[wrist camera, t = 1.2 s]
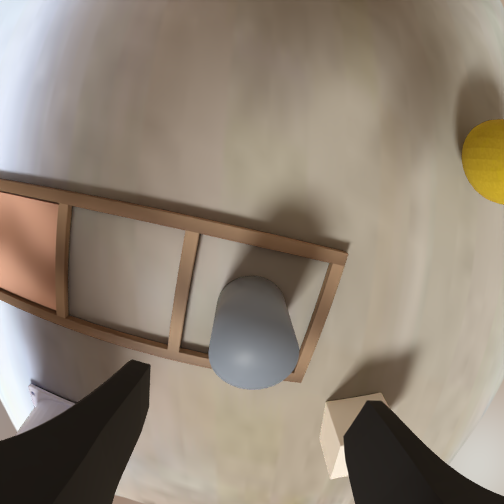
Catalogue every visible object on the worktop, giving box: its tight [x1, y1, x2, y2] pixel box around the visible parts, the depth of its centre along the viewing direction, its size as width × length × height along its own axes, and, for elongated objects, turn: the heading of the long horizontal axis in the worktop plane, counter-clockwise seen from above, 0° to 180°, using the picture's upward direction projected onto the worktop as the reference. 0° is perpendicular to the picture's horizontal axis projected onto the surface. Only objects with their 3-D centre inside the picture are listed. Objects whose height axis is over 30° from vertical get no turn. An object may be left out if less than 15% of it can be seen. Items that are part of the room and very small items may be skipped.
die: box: [319, 393, 389, 479], centre depth 20 cm, size 5×5×5 cm
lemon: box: [462, 119, 504, 205], centre depth 13 cm, size 6×6×8 cm
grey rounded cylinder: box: [208, 276, 299, 390], centre depth 17 cm, size 4×4×6 cm
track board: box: [0, 178, 348, 383], centre depth 18 cm, size 10×28×1 cm, turn 77°
